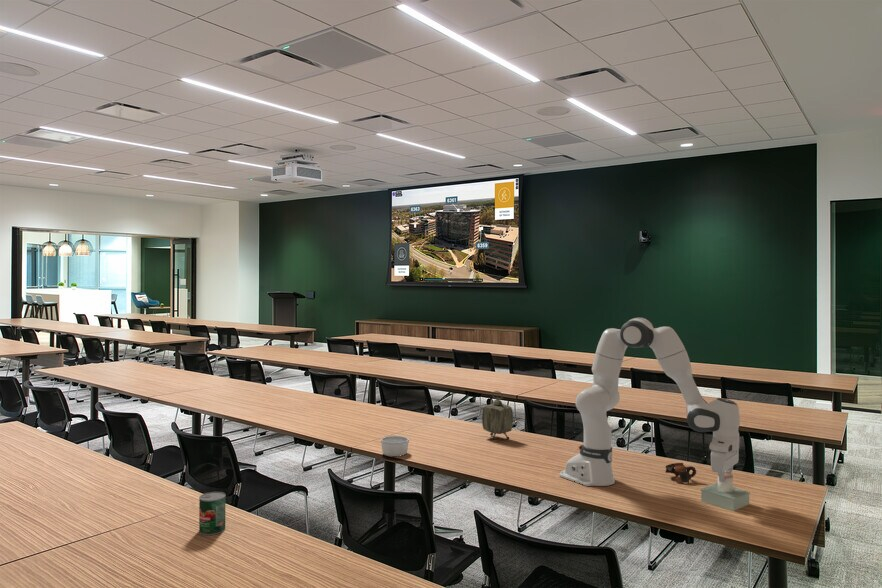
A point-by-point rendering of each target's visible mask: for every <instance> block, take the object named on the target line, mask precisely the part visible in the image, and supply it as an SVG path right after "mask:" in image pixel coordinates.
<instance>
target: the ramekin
mask: <svg viewBox="0 0 882 588" xmlns="http://www.w3.org/2000/svg"><path fill="white" fill-rule="evenodd" d="M409 442H410V439H409V438H408V437H406V436H402V435H388V436H384V437H381V439H380V443H381V451H382V453H383V455H384V456H387V457H392V456H397V457H401V456H400V455H403V456H405V455H406V454H407V453H408V449H409ZM404 454H405V455H404Z"/></svg>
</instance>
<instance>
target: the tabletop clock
mask: <svg viewBox="0 0 882 588" xmlns="http://www.w3.org/2000/svg"><path fill="white" fill-rule="evenodd" d="M495 393H496V394H497V393H498V394H500V395H501V397H499V396H496V397H495V396H494V394H495ZM491 396H492V397H493V399H494V400H493V401H492V404H486V405H484V406H483V408H482V415H481V423H482V429H483V430H484V431H487V432H488V433H490V434H489V435H490V436H491V435H493V437H492V439H493V440H494V439H495V440H496V435H502V434H503V435H504V436H505V437H506V440H507V439H509V440H510V437H509V436H508V435H507V433H508V432H512V430H513V427H514V426H513V425H514V424H513V423H514V414H513V413H514V411H513V408H512V407H511V406H510V405H508V404H504V403H503V402H502V401H501V400H502V399H503V398H504V395H503V393H502V392H501V391H500V390H499V391H498V390H496V391H495V390H494V391H493V392H492V395H491Z"/></svg>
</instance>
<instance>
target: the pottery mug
mask: <svg viewBox="0 0 882 588" xmlns="http://www.w3.org/2000/svg"><path fill="white" fill-rule="evenodd" d="M690 471H692V472H691V473H690ZM664 472H665V473H666V474H669V473H670V474H674V475H675V478H674V479H675V481H676V484H681V483H687V484H688V483H690V480H691V479H692V478H694V477H695V476H696V475H697V469H696V467H694V466H686V465H684V462H674V463H671V464H670V463H669V464H666V465H665V471H664Z"/></svg>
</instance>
